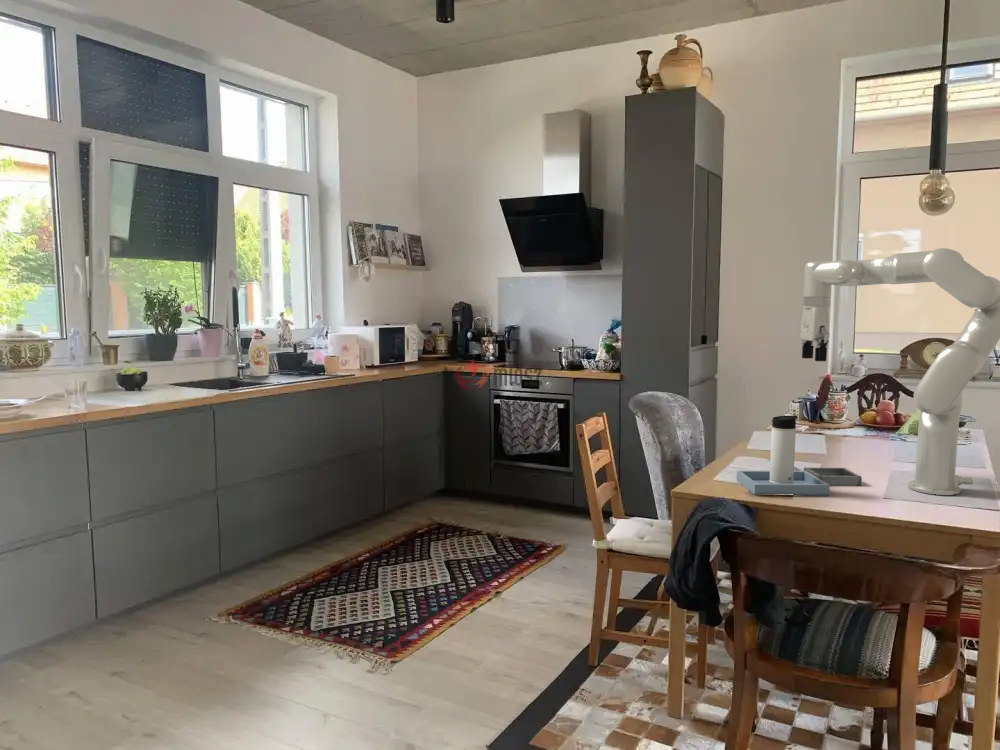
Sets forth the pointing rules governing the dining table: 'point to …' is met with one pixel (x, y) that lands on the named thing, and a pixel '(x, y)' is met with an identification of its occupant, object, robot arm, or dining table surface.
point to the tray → (801, 484)
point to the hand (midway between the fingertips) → (813, 359)
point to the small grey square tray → (835, 476)
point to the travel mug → (782, 449)
